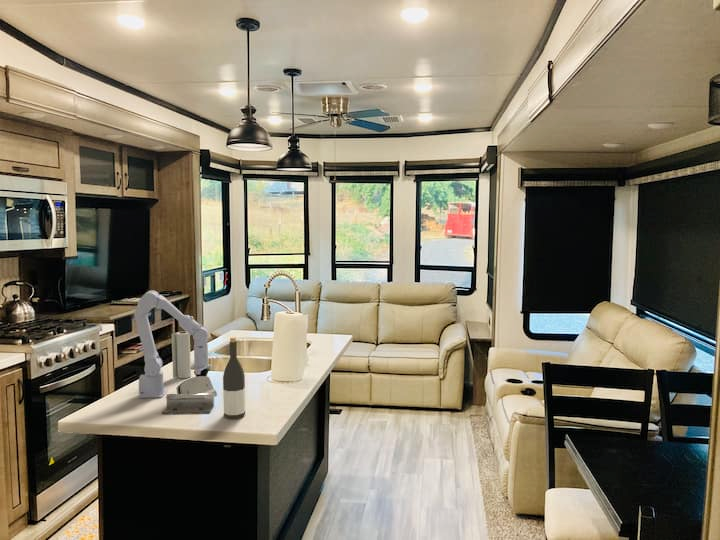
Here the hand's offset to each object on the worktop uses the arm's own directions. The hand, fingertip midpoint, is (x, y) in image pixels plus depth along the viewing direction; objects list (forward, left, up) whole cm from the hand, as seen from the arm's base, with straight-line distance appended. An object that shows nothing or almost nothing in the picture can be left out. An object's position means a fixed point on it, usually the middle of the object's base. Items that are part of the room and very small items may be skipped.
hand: (202, 386), depth 236 cm
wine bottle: (+19, -30, -3) cm, 35 cm away
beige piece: (0, -10, -3) cm, 10 cm away
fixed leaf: (0, -22, -2) cm, 23 cm away
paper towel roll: (-14, +22, -3) cm, 27 cm away
